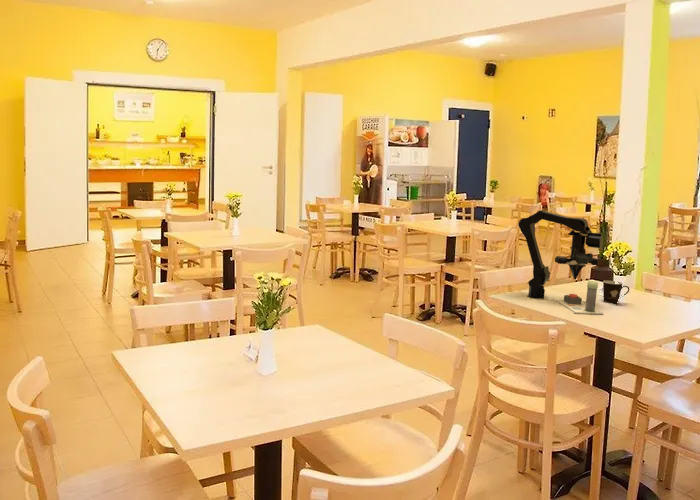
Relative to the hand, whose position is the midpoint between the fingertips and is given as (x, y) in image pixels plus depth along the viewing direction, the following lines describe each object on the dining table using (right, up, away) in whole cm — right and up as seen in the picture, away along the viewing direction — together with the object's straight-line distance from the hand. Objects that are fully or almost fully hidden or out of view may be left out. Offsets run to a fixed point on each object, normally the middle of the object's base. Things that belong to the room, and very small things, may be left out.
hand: (574, 278), depth 329 cm
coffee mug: (+21, -12, +8) cm, 26 cm away
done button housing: (-1, -11, +2) cm, 11 cm away
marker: (+2, -14, -13) cm, 19 cm away
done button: (-1, -9, +1) cm, 9 cm away
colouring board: (0, -13, -6) cm, 14 cm away
